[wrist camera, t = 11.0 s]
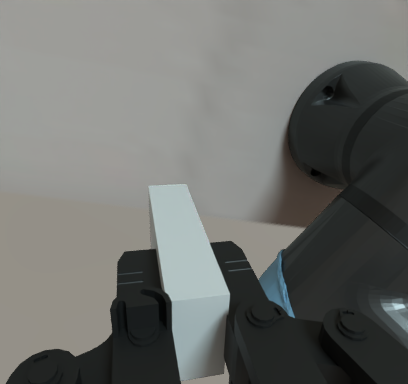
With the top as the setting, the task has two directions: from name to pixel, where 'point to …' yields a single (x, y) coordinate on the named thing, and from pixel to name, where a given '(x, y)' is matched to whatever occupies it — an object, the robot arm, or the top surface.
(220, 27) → the top surface
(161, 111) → the top surface
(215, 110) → the top surface
